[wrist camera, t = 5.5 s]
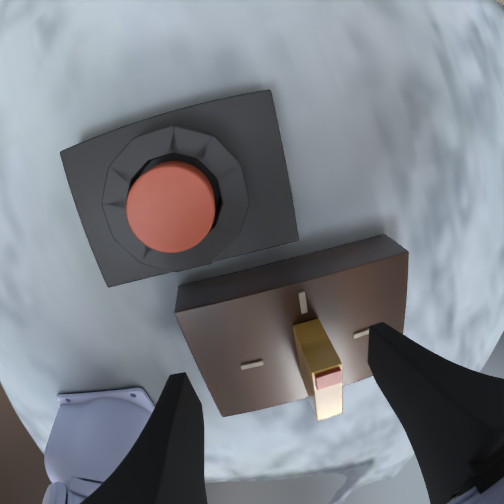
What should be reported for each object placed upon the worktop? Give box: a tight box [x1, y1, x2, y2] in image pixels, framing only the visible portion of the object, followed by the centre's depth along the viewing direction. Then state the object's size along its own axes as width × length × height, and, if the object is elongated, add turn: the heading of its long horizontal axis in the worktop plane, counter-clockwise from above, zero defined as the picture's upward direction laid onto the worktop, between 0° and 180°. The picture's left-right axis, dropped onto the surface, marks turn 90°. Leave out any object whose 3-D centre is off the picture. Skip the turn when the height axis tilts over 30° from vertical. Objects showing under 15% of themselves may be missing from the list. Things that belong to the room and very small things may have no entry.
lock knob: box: [293, 319, 343, 421], centre depth 17 cm, size 5×2×4 cm, turn 12°
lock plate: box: [174, 234, 409, 417], centre depth 20 cm, size 14×10×3 cm
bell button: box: [126, 161, 215, 253], centre depth 12 cm, size 4×4×2 cm
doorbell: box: [60, 90, 299, 287], centre depth 15 cm, size 11×8×4 cm
